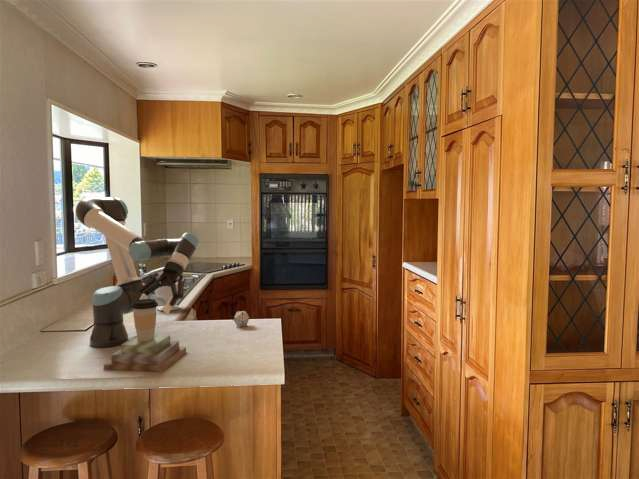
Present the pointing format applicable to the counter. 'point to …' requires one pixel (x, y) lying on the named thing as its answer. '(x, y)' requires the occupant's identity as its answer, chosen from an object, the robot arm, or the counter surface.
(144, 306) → the coffee cup
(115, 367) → the tower base
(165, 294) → the chalice
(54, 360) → the counter surface
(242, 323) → the game die
